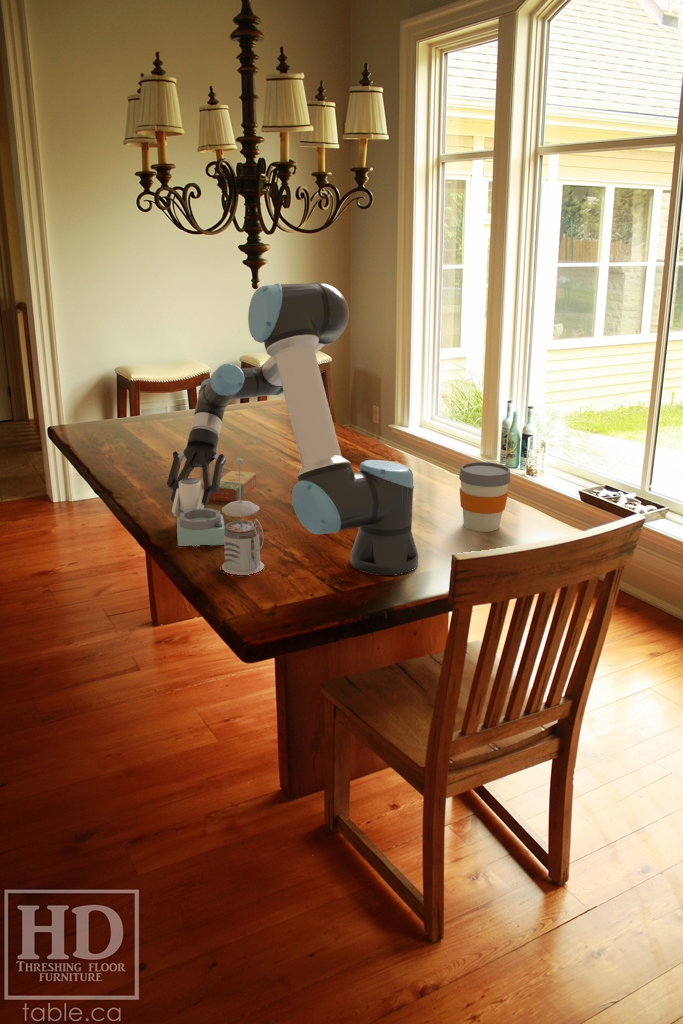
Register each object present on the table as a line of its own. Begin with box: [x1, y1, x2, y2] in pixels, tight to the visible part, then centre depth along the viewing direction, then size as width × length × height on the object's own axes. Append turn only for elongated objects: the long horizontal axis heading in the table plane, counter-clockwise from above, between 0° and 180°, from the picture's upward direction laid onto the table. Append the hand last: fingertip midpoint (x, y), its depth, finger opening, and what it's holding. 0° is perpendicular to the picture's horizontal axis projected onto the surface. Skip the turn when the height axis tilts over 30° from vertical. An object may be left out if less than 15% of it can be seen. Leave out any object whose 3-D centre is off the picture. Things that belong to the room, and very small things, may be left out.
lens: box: [179, 477, 203, 514], centre depth 210 cm, size 6×6×11 cm
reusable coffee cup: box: [459, 461, 511, 533], centre depth 210 cm, size 13×13×15 cm
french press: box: [221, 457, 265, 576], centre depth 181 cm, size 10×12×25 cm
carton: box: [209, 470, 257, 503], centre depth 236 cm, size 8×16×4 cm, turn 166°
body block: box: [176, 507, 226, 547], centre depth 201 cm, size 10×11×6 cm
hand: (186, 514), depth 208 cm, fingers closed on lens, 5 cm apart
